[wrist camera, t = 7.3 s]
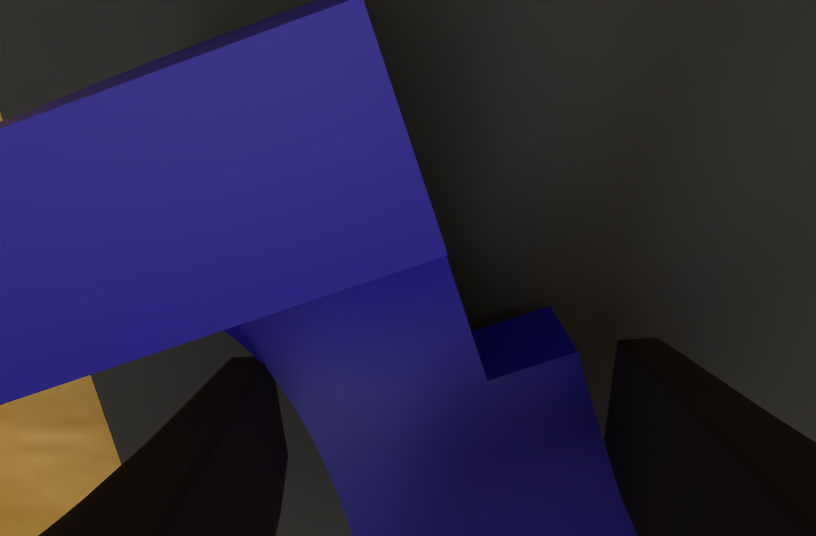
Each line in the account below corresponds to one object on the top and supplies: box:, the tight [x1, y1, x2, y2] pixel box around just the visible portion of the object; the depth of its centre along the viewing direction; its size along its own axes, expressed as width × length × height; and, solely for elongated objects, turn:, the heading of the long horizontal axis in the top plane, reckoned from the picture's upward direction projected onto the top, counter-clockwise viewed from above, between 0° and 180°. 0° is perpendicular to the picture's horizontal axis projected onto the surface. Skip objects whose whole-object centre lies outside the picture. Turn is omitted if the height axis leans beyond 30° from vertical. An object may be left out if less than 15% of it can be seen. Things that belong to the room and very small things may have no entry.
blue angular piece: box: [0, 0, 637, 536], centre depth 8 cm, size 12×4×6 cm, turn 18°
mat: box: [0, 0, 816, 536], centre depth 12 cm, size 20×16×1 cm
